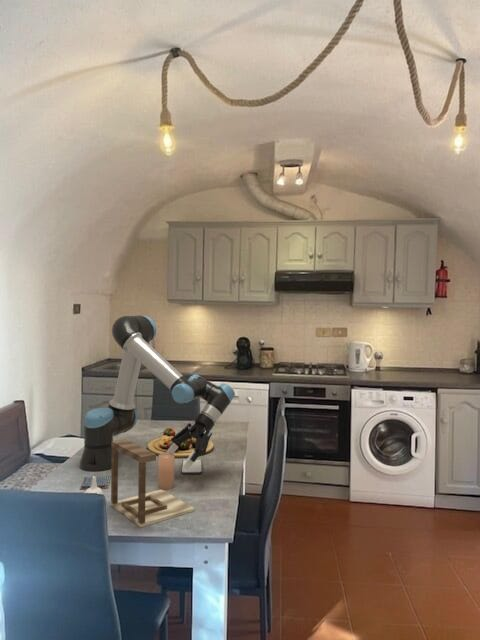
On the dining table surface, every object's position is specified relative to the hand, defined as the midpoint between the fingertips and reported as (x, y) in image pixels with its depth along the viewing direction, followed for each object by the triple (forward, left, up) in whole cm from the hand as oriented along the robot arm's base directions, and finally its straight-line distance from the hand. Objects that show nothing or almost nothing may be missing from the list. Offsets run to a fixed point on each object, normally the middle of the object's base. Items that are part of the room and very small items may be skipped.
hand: (175, 463), depth 188 cm
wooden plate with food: (-40, +29, -9) cm, 50 cm away
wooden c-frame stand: (+13, -17, -9) cm, 23 cm away
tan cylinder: (-1, -3, -9) cm, 9 cm away
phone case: (-13, +17, -9) cm, 23 cm away
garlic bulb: (-7, -29, -9) cm, 31 cm away
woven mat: (-19, -23, -9) cm, 32 cm away
